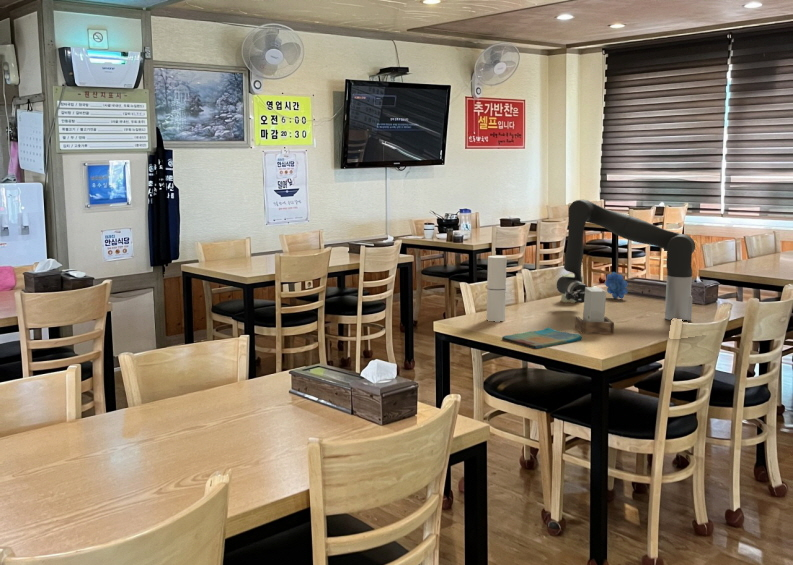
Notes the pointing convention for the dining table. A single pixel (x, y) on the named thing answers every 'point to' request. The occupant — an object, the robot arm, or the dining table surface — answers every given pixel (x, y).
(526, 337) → the dish towel
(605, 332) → the bracket
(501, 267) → the cylindrical container
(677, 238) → the robot arm
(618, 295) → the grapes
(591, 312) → the skincare box
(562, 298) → the can
